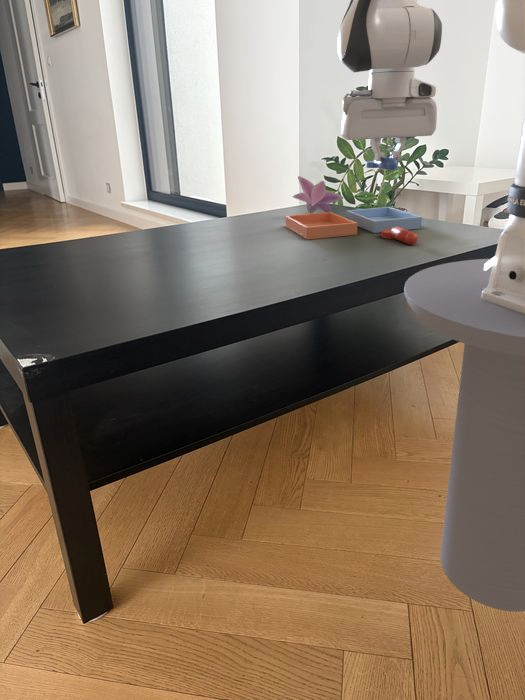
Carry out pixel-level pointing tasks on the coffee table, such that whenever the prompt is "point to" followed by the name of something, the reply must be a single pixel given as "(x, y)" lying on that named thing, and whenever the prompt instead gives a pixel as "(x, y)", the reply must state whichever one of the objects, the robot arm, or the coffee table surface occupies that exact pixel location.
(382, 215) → the blue tray
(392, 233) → the red spoon
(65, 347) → the coffee table surface
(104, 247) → the coffee table surface
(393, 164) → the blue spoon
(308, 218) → the orange tray
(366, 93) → the robot arm
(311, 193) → the lily
